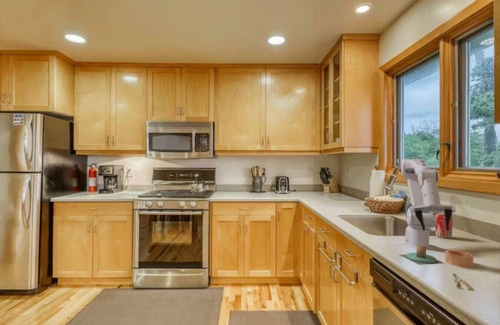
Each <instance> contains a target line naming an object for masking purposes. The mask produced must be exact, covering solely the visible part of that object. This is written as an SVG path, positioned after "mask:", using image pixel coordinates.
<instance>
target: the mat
mask: <svg viewBox="0 0 500 325" xmlns="http://www.w3.org/2000/svg"><path fill="white" fill-rule="evenodd" d="M407 254H408V253H406V254H399V256H400V257H402V258H405V259H407V260H408V261H410V262H413V263H415V264H417V265H419V266H421V265H437V264H439V265H440V264H444V262H443V261H442V260H441V261H440V260H439V259H436V262H435V263H421V262H416V261H413V260H410V259H408V258H407V257H406V256H407Z"/></svg>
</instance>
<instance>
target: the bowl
mask: <svg viewBox="0 0 500 325" xmlns="http://www.w3.org/2000/svg"><path fill="white" fill-rule="evenodd" d="M444 261H445V263H446V264H449V265H452V266H455V267H461V268H472V267H474V262H475V260H474V254H472V253H469V252H467V251H463V250H457V249H456V250H455V249H446V250H444Z"/></svg>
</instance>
